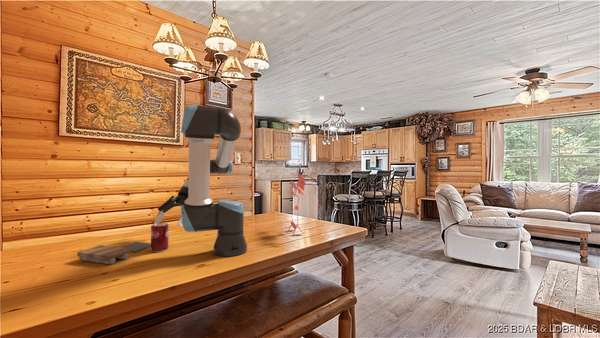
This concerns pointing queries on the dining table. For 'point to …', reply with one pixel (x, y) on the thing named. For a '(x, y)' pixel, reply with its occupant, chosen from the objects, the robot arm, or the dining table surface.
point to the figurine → (300, 186)
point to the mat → (137, 246)
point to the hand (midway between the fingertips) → (167, 224)
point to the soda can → (159, 237)
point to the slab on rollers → (104, 254)
